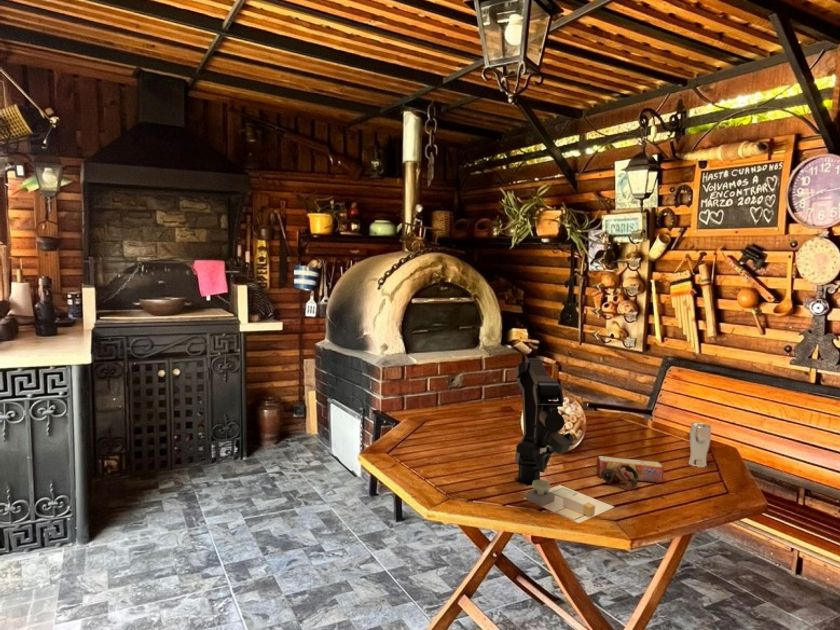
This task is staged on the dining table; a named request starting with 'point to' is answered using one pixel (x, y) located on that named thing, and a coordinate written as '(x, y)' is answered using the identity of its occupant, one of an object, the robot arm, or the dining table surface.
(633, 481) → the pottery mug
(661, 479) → the snack package
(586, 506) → the marker
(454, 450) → the dining table surface
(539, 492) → the button
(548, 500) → the button housing
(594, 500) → the picture board
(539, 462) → the robot arm
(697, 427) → the beer glass
